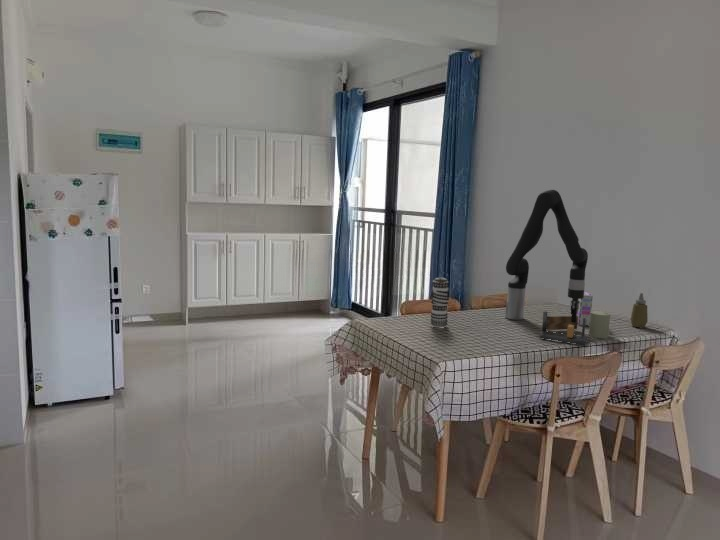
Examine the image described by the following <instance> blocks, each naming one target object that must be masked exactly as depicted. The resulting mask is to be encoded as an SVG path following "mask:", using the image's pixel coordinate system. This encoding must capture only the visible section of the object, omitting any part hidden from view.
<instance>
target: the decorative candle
mask: <svg viewBox="0 0 720 540" xmlns="http://www.w3.org/2000/svg"><path fill="white" fill-rule="evenodd" d="M432 283H433V284H432V290H431V294H430V296H431V308H432V309H431V312H430V314H431V315H430V327H431V326H433V327H446V328H448V317H449V316H448V305H449V302H448V301H449V300H450V298H449V297H450V295H448V294H450V289H449V280H448V279H447V278H445V277H435V278H434V279H433V280H432ZM433 327H432V328H433Z"/></svg>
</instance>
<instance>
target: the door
mask: <svg viewBox="0 0 720 540" xmlns="http://www.w3.org/2000/svg"><path fill="white" fill-rule="evenodd" d="M571 318H572V315H555V316H554V315H552V316H551V315H550V316H549V315H547V327H546V331H554V330H555V331H556V330H557V331H559V330H567V329H568V325H569V324H570V325H574V330H577V329H578V316H577V318H576V322H575V323H574V322H571Z"/></svg>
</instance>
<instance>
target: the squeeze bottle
mask: <svg viewBox="0 0 720 540" xmlns="http://www.w3.org/2000/svg"><path fill="white" fill-rule="evenodd" d="M646 302H647V301H646V300H645V299H644V293H642V292H640V293H639V296H638V298H637V299H635V303H634V304H633V306H632V310H631V314H630V323H631V326H632V327H633V326H634V327H633V328H636V327H644V328H646V325H647V323H648V305H647V303H646Z"/></svg>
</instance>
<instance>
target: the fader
mask: <svg viewBox="0 0 720 540" xmlns="http://www.w3.org/2000/svg"><path fill="white" fill-rule="evenodd" d="M566 330H567V331H566V333H567V337H570V338H572V337H573V336H574V334H575V329H574V325H570V324H569V325H568V329H566Z"/></svg>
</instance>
